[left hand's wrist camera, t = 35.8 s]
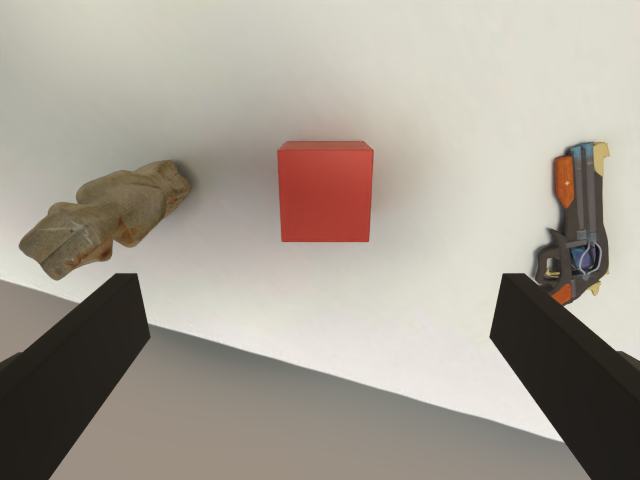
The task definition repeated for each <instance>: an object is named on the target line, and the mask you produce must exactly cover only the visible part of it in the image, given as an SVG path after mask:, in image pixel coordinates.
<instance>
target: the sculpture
mask: <svg viewBox="0 0 640 480" xmlns="http://www.w3.org/2000/svg"><path fill="white" fill-rule="evenodd" d="M177 170H178V168H177V167H176V166H175V165H174V164H173V163H172V162H171V161H170V160H167V161H159V162H155V163H151V164H148V165H146V166H143V167H141V168H139V169H137V170H136V171H134V172H130V171H125V170H121V171H117V172H114V173H112V174H109V175H107V176H104V177H102V178H99V179H96V180H93V181H90V182H88V183H86V184H84V185H83V186H82V187H81V188H80V189H79V190H78V192H77V194H76V200H77V202H78V204H74V203H66V202H59V203H56V204H54V205H52V206H51V207H50V209H49V211H48V215H47V216H46V217H45V218H44V219H42V220H41V221H40V222H39V223H38V224H37V225H36V226H35V227H34V228H33V229H32V230H31V231H29V232H28V233H27V234H26V235H25V236H24V237H23V238H22V240H21V241H20V244H19V249H20V250H21V251H22V252H23V253H24V254H25V255H27V256H28V257H30V258H33V259H34V260H36V261H37V262H38V263H39V264H40V266H41V267H42V268H43V270H44V271H45V272H46V273H47V275H48V276H49V277H51V278H52V279H54V280H60V279H62V278H63V277H65V276H66V275H67V274H68V273H70V272H71V271H72V270H74V269H76V268H78V267H80V266H83V265H86V264H89V263H92V262H97V261H107V260H109V259H110V258H111V256H112V246H113V240H115V241H117V242H118V243H120V244H121V245H123V246H125V247H129V248H132V247H135V246H136V245H137V244H138V243H139V242H140V241H141V240H142V239H143V238H144V237H145V236H146V235H147V234H148V233H149V232H150V231H151V230H152V229H153V228H154V227H155V226H156V225H157V224H158V223H159V222H160V221H161V220H162V219H164V218H165V217H166V216H168V215H169V214H170V213H171V212H172V211H173V210H174V209H175V208H176V207H177V206H178V205H179V204H180V203H181V202H182V200H183V199H184V197H185V196H186V195H187V193H188V192H189V191H190V190H191V188H192V187H191V185H190V183H189V182H188V180H187V179H186V178H184V177H182V176H181V175H180V174H179V173H178V171H177Z"/></svg>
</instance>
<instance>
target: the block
mask: <svg viewBox="0 0 640 480" xmlns="http://www.w3.org/2000/svg"><path fill="white" fill-rule="evenodd" d="M373 152H374V151H373V149H372V148H371V147H369V146H368V145H367V144H366V143H365V142H364V141H287V142H286V143H285V144H284V145H283V146H282V147H281V148H280V149H278V174H279V196H280V218H281V241H282V242H369V232H370V212H371V192H372V172H373Z"/></svg>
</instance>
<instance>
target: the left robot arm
mask: <svg viewBox="0 0 640 480" xmlns="http://www.w3.org/2000/svg"><path fill="white" fill-rule="evenodd" d="M149 339H150V332H149V327H148V323H147V318H146V313H145V308H144V304H143V299H142V294H141V289H140V285H139V280H138V275H137V273H116V274H115V275H113V276H112V277H111V278H110V279H109V280H107V281H106V282H105V283H104V284H103V285H102V286H100V287H99V288H98V289H97V290H96V291H94V292H93V293H92V294H91V295H90V296H89V297H87V298H86V299H85V300H84V301H83V302H81V303H80V304H79V305H78V306H77V307H76V308H74V309H73V310H72V311H71V312H70V313H68V314H67V315H66V316H65V317H64V318H63V319H61V320H60V321H59V322H58V323H57V324H56V325H54V326H53V327H52V328H51V329H50V330H48V331H47V332H46V333H45V334H44V335H42V336H41V337H40V338H39V339H38V340H37V341H35V342H34V343H33V344H32V345H31V346H30V347H28V348H27V349H26V350H25V351H24V352H19V353H17V354H15V355H13V356H11V357H9V358H8V359H6V360H4V361H2V362H0V480H49V478H50V477H51V476H52V474H53V473H54V471H55V470H56V469H57V467H58V466H59V464H60V463H61V462H62V460H63V459H64V457H65V456H66V455H67V453H68V452H69V450H70V449H71V448H72V446H73V445H74V443H75V442H76V441H77V439H78V438H79V436H80V435H81V434H82V432H83V431H84V429H85V428H86V427H87V425H88V424H89V423H90V421H91V420H92V418H93V417H94V415H95V414H96V413H97V411H98V410H99V409H100V407H101V406H102V404H103V403H104V402H105V400H106V399H107V397H108V396H109V395H110V393H111V392H112V390H113V389H114V388H115V386H116V385H117V383H118V382H119V381H120V379H121V378H122V376H123V375H124V374H125V372H126V371H127V369H128V368H129V367H130V365H131V364H132V362H133V361H134V360H135V358H136V357H137V355H138V354H139V353H140V351H141V350H142V348H143V347H144V346H145V344H146V343H147V341H148V340H149ZM490 339H491V340H492V342H493V343H494V344H495V346H496V347H497V349H498V350H499V351H500V353H501V354H502V355H503V357H504V358H505V360H506V361H507V362H508V364H509V365H510V367H511V368H512V369H513V371H514V372H515V374H516V375H517V376H518V378H519V379H520V381H521V382H522V383H523V385H524V386H525V388H526V389H527V390H528V392H529V393H530V395H531V396H532V397H533V399H534V400H535V402H536V403H537V404H538V406H539V407H540V409H541V410H542V411H543V413H544V414H545V416H546V417H547V418H548V420H549V421H550V423H551V424H552V425H553V427H554V428H555V429H556V431H557V432H558V434H559V435H560V436H561V438H562V439H563V441H564V442H565V443H566V445H567V446H568V448H569V449H570V450H571V452H572V453H573V455H574V456H575V457H576V459H577V460H578V462H579V463H580V464H581V466H582V467H583V469H584V470H585V471H586V473H587V474H588V476H589V477H590V478H591V480H640V361H639V360H637V359H635V358H633V357H632V356H630V355H628V354H626V353H624V352H622V351H615V350H614V349H613V348H612V347H611V346H609V345H608V344H607V343H606V342H605V341H603V340H602V339H601V338H600V337H599V336H598V335H596V334H595V333H594V332H593V331H592V330H590V329H589V328H588V327H587V326H586V325H585V324H583V323H582V322H581V321H580V320H579V319H577V318H576V317H575V316H574V315H573V314H572V313H570V312H569V311H568V310H567V309H566V308H564V307H563V306H562V305H561V304H560V303H559V302H557V301H556V300H555V299H554V298H553V297H551V296H550V295H549V294H548V293H547V292H546V291H544V290H543V289H542V288H541V287H540V286H538V285H537V284H536V283H535V282H534V281H533V280H531V279H530V278H529V277H528V276H527V275H525V274H524V273H503V275H502V280H501V285H500V289H499V294H498V299H497V304H496V308H495V313H494V318H493V322H492V327H491V332H490Z"/></svg>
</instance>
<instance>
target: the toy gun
mask: <svg viewBox="0 0 640 480" xmlns="http://www.w3.org/2000/svg"><path fill="white" fill-rule="evenodd" d="M608 156H610V154H609V149H608V145H607V143H605V142H597V143H594V144H593V142H589V143H583V144H581V145H580V146H574V147H570V151H568V155H567V156H563V157H559V158H557V159H556V160H555V181H556V195H557V197H558V199H559V200H560V202H561V204H562V205H563V207H564V211H565V226H564V231H563V233H562V234H560V233H559V232H557V231H555V230H553V229H550V231H551V233H552V235H553V237H554V241H555V246H554V247H550V248H545V249H543V250H542V251H540V252H539V254H538V270H537V273H536V277H535V280H536V281H537V282H538V283H547V284H550V285H549V286H548V287H546V288H545V289H543V290H544V291H546V292H547V293H548V294H549V295H550V296H551V297H553V298H554V299H555V300H556V301H557V302H559V303H560V304H561V305H562V306H565V305H566V304H570V303H572V302H573V300H576V299H577V298H579V297H580V296H581V295H582V293H583V292H584V291H585V290H591V291H592V293H593V295H594V296H596V295H597V294H598V290H599V286H600V285H601V282H600V281H599V279H600V278H601V277H603V276H604V275H605V274H609V269H608V266H609V256H608V240H607V235H606V232H605V228H604V225H603V203H602V178H603V158H604V157H608ZM587 241H588V243H587ZM590 241H591V242H594V243H595V247H593V246H591V245H590ZM569 248H570V249H569ZM595 255H596V256H595ZM570 256H571V257H570ZM551 257H553V258H557V272H549V270H548V269H546V266H547V259H548V258H551ZM594 257H595V262H594ZM571 258H572V260H573V261H574V263H575V265H576V266H577V267H575V266H573V265H572V264H571ZM592 265H594V266H593V267H592V268H590V267H591V266H592ZM571 266H572V267H574V268H575V269H577V271H572V267H571ZM588 268H590V269H588ZM545 274H546V275H548V276H550V277H555V278H553V279H546V278H544V275H545ZM554 274H557V275H556V276H552V275H554Z"/></svg>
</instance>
